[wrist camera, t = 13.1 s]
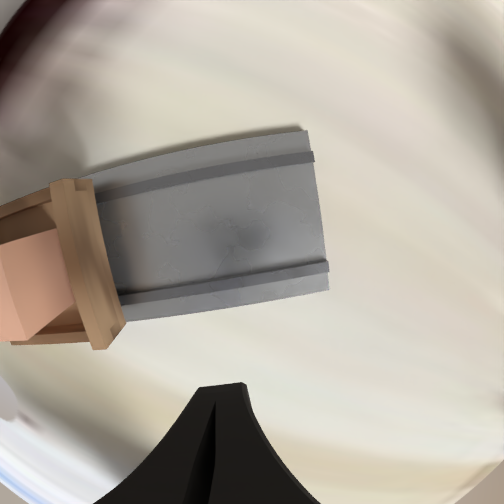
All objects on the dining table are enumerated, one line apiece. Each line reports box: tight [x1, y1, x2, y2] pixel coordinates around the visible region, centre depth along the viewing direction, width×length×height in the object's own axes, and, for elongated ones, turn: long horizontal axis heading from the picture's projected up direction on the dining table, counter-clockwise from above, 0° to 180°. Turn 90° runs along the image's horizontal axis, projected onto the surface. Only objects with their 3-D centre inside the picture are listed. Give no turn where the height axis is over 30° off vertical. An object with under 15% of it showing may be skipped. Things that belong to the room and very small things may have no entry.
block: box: [0, 228, 76, 341], centre depth 12 cm, size 4×4×5 cm
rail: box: [77, 130, 329, 322], centre depth 16 cm, size 9×23×2 cm, turn 99°
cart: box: [0, 179, 126, 350], centre depth 14 cm, size 8×8×4 cm
